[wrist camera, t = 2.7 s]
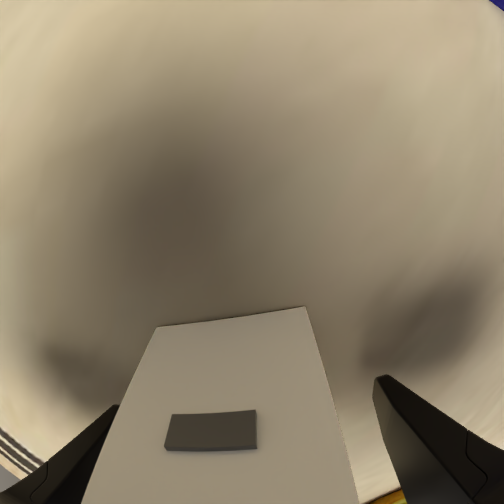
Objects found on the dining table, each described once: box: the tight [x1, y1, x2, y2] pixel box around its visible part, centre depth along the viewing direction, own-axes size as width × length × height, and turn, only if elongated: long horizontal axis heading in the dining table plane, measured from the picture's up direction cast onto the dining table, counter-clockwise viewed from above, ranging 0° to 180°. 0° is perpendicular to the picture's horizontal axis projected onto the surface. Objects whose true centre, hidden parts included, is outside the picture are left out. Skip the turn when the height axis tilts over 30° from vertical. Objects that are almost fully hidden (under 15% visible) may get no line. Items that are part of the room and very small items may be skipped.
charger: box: [81, 306, 359, 504], centre depth 7 cm, size 4×9×6 cm, turn 10°
